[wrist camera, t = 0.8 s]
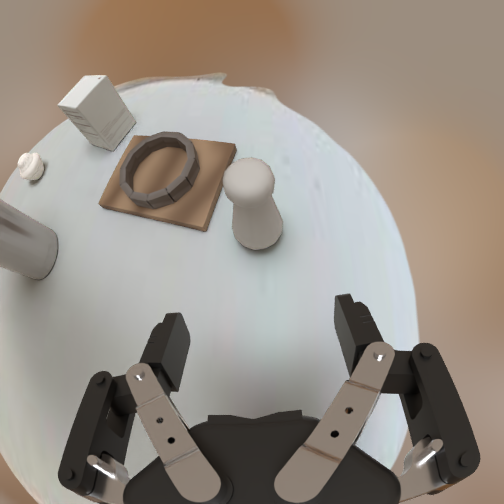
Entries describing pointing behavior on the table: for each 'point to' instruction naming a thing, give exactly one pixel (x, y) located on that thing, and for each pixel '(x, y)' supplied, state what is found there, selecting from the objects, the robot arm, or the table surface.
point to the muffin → (30, 166)
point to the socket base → (169, 179)
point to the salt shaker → (253, 203)
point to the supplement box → (98, 111)
